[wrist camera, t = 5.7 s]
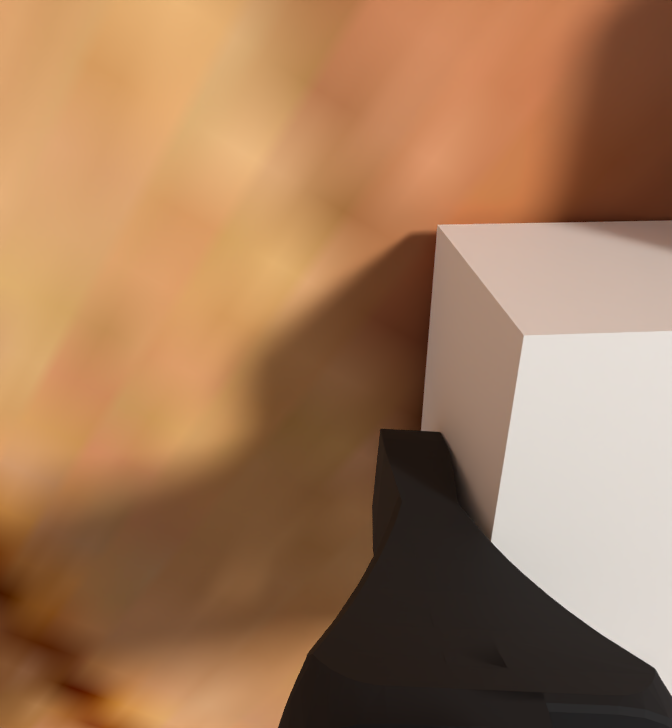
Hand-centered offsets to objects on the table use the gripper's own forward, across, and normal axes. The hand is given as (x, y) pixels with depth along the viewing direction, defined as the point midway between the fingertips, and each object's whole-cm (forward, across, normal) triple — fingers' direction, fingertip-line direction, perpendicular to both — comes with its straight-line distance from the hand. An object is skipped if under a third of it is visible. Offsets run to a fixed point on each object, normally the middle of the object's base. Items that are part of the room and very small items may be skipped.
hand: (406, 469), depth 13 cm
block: (+2, -3, 0) cm, 4 cm away
